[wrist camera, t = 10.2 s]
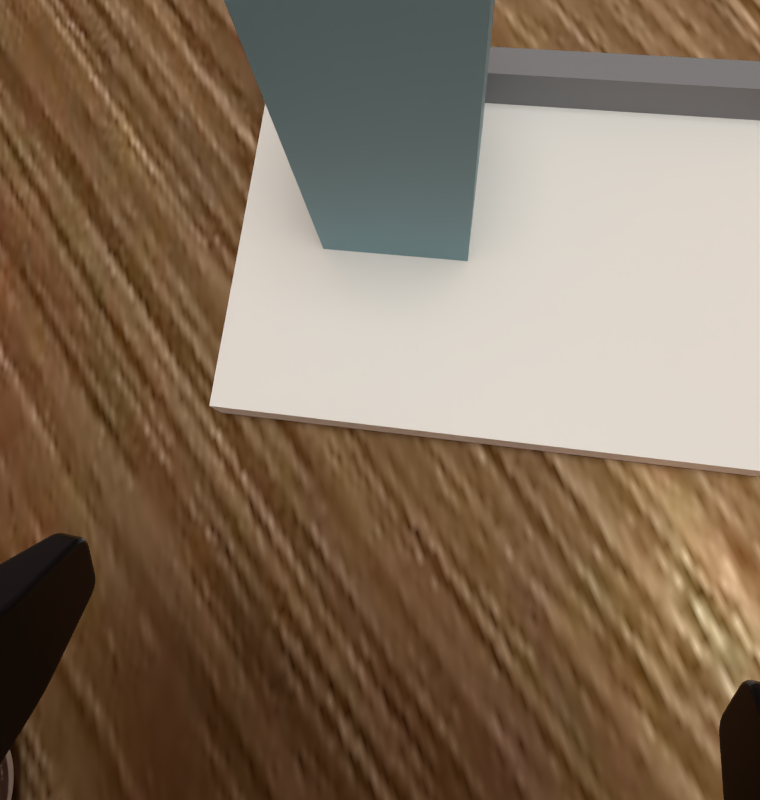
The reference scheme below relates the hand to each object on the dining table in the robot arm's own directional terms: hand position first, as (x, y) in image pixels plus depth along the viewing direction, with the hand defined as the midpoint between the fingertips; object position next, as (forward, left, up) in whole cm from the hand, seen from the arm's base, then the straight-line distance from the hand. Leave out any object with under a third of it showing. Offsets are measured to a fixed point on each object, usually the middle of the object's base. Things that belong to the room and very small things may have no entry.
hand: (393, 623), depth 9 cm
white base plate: (+8, +8, -14) cm, 18 cm away
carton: (+6, +12, -12) cm, 18 cm away
